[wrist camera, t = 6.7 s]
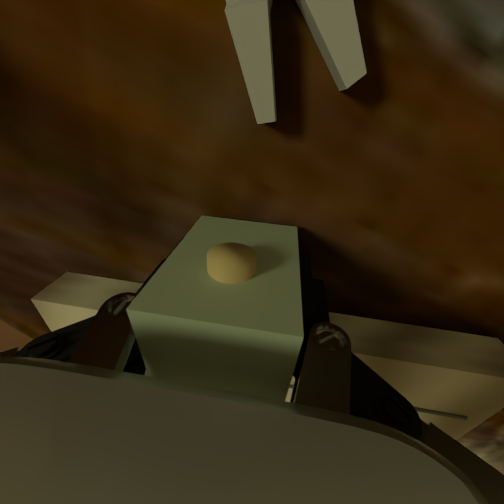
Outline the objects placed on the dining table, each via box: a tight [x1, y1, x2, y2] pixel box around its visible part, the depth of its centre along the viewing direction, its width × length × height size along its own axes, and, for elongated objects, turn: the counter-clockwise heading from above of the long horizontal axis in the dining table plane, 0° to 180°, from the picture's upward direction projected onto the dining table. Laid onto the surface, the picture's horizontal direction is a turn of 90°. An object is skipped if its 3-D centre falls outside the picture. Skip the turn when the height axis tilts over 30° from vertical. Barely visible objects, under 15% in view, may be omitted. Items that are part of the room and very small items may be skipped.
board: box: [31, 272, 504, 440], centre depth 15 cm, size 26×8×3 cm, turn 86°
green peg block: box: [126, 216, 304, 401], centre depth 11 cm, size 4×10×6 cm, turn 176°
